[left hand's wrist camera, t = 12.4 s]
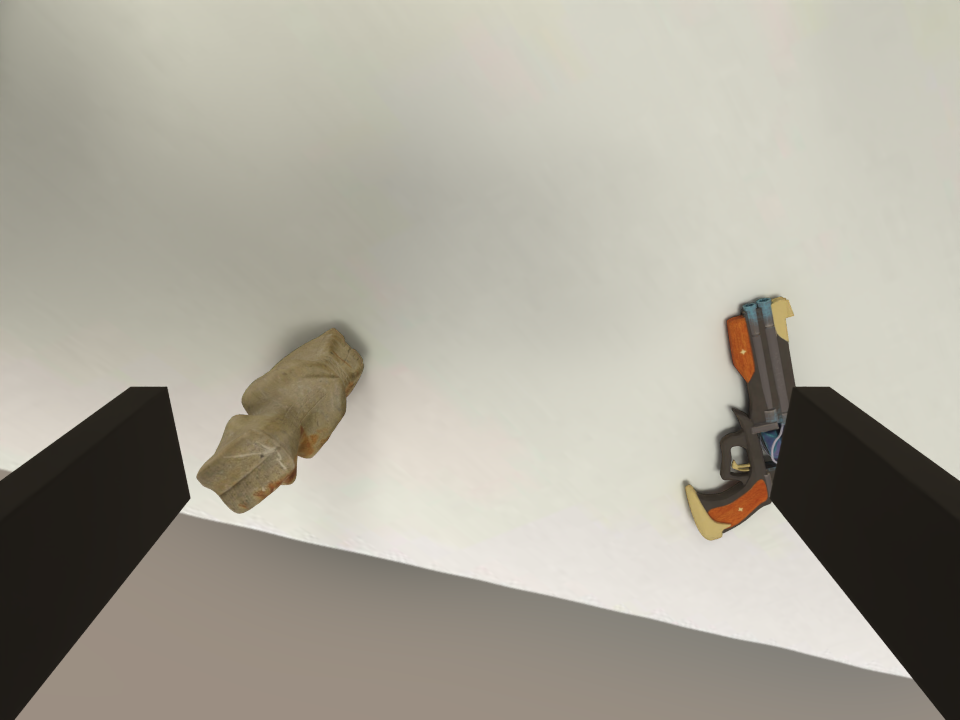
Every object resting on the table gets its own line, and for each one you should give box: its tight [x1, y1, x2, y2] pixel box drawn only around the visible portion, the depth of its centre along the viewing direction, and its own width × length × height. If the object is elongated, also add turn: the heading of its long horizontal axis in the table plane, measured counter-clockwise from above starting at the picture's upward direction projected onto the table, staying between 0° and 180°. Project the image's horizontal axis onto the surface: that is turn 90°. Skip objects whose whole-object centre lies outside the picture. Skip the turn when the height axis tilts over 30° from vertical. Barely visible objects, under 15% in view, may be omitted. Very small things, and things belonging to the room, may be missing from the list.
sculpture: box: [197, 328, 364, 514], centre depth 37 cm, size 6×7×15 cm
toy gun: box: [686, 297, 796, 540], centre depth 45 cm, size 3×19×10 cm
